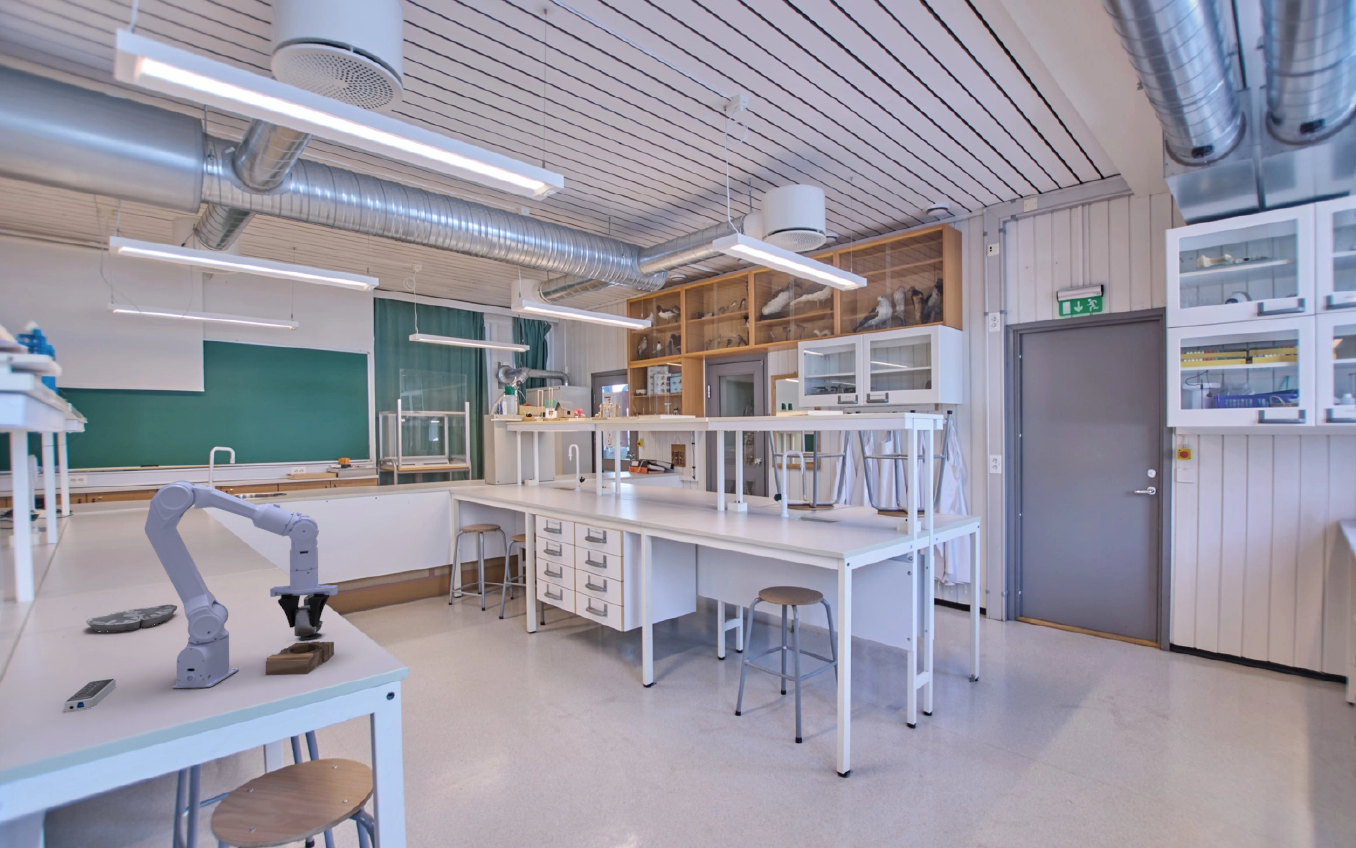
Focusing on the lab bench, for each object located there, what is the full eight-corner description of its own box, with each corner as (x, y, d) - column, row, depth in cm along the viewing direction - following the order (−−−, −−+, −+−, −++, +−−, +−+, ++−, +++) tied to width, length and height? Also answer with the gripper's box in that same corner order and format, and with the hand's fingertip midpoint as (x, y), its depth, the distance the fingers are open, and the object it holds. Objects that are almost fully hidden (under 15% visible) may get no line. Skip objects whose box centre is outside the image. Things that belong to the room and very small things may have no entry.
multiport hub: (116, 688, 133) (116, 678, 133) (92, 710, 123) (92, 698, 123) (89, 692, 131) (89, 681, 131) (63, 714, 121) (63, 702, 121)
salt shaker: (293, 642, 160) (293, 595, 160) (301, 635, 166) (300, 589, 166) (319, 640, 162) (319, 593, 162) (325, 632, 167) (325, 588, 167)
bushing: (311, 635, 145) (311, 610, 145) (291, 637, 144) (290, 611, 145) (319, 629, 149) (319, 604, 150) (299, 630, 149) (299, 605, 149)
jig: (309, 673, 139) (309, 657, 139) (263, 675, 139) (263, 658, 139) (337, 653, 152) (337, 638, 152) (295, 654, 151) (294, 639, 151)
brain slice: (95, 641, 163) (95, 630, 163) (81, 629, 173) (81, 618, 173) (187, 622, 179) (187, 611, 179) (170, 611, 189) (169, 602, 189)
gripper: (343, 564, 151) (344, 620, 151) (282, 565, 150) (282, 621, 150) (329, 570, 144) (329, 629, 144) (264, 572, 143) (264, 631, 143)
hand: (304, 626), depth 147 cm, fingers closed on bushing, 4 cm apart
